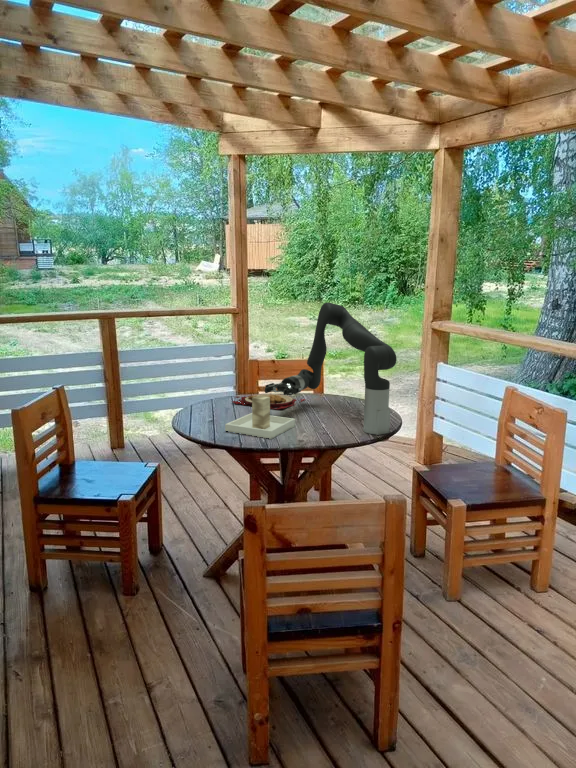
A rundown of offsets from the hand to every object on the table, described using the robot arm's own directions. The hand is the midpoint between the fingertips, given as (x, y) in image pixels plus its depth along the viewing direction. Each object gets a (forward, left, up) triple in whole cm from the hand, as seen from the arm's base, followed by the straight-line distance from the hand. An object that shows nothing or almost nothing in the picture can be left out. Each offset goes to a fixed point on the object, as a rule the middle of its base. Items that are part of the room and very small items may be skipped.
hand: (274, 391), depth 222 cm
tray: (-5, +10, -13) cm, 17 cm away
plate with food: (+32, -17, -14) cm, 39 cm away
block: (-5, +10, -12) cm, 16 cm away
